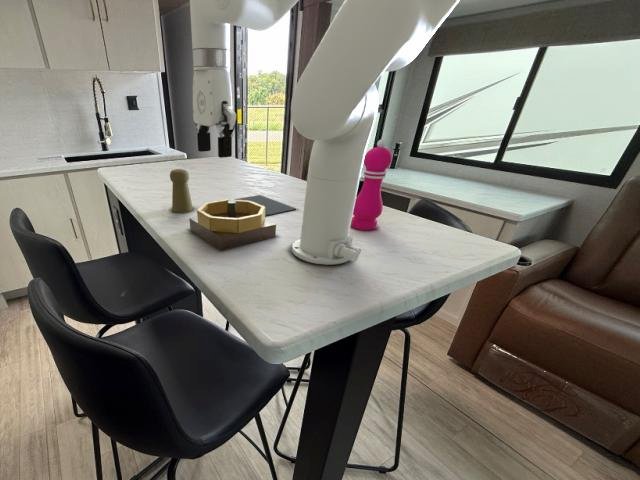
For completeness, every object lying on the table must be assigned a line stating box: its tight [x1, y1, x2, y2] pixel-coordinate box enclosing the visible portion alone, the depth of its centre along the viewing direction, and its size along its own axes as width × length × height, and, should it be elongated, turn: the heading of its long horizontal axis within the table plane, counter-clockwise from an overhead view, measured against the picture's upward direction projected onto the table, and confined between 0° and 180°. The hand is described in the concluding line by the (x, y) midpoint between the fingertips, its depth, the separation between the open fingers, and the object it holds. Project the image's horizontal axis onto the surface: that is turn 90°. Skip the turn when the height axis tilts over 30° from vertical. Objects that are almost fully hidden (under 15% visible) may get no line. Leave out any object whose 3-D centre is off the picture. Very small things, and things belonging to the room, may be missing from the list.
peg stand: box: [189, 201, 277, 251], centre depth 75 cm, size 15×15×8 cm
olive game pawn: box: [169, 168, 194, 214], centre depth 90 cm, size 6×6×11 cm
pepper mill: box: [350, 139, 393, 231], centre depth 76 cm, size 7×7×20 cm
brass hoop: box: [196, 198, 266, 233], centre depth 75 cm, size 15×15×3 cm
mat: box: [234, 194, 297, 217], centre depth 96 cm, size 18×18×1 cm
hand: (214, 153), depth 74 cm, fingers open, 9 cm apart
